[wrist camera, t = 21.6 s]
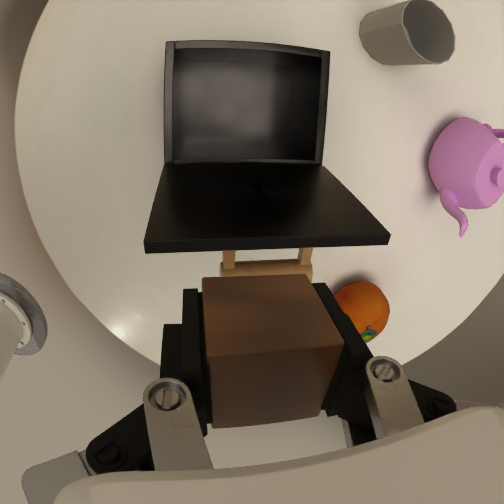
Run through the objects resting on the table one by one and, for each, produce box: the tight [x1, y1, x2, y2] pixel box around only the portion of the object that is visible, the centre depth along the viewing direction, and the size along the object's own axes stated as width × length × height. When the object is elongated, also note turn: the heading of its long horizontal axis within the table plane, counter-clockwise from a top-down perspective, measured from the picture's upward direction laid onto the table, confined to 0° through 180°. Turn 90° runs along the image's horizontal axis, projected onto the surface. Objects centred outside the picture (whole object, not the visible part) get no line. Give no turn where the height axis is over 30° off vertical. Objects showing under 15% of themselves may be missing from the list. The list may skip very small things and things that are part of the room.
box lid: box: [144, 164, 391, 282], centre depth 24 cm, size 12×15×5 cm
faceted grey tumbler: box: [359, 0, 455, 65], centre depth 28 cm, size 8×8×10 cm
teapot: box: [428, 117, 504, 237], centre depth 37 cm, size 20×13×12 cm, turn 144°
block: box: [202, 274, 344, 429], centre depth 10 cm, size 4×4×4 cm
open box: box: [164, 40, 330, 166], centre depth 30 cm, size 12×15×11 cm
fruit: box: [334, 282, 390, 343], centre depth 48 cm, size 11×10×8 cm
